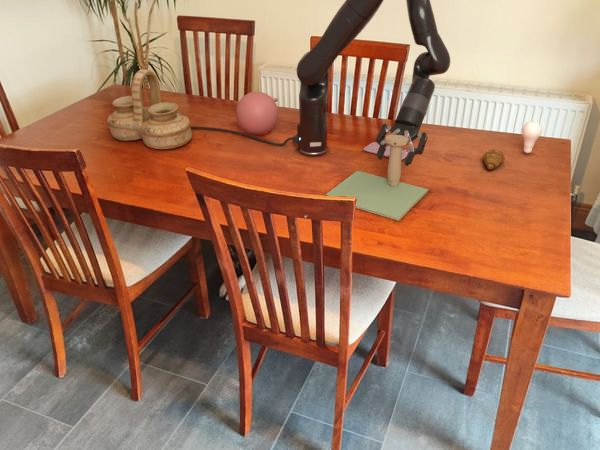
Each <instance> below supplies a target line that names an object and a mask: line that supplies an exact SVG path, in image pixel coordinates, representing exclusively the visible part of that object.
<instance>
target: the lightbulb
mask: <svg viewBox="0 0 600 450" xmlns="http://www.w3.org/2000/svg"><path fill="white" fill-rule="evenodd" d="M542 132H543V128H542V126H541V124H540V123H539V122H537V121H533V120H532V121H531V120H530V121H528V122H526V123H525V124H524V125H523V126H522V128H521V135H522V138H523V152H524V153H525V154H531V153H532V151H533V147H534V146H535V143H536V142H537V140H538V139H539V138H540V136H541V135H542Z"/></svg>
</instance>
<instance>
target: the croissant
mask: <svg viewBox="0 0 600 450" xmlns="http://www.w3.org/2000/svg"><path fill="white" fill-rule="evenodd" d="M482 158H483V160H484V161H483V162H484V165H485V168H486V170H488V171H494V170H495V169H497V168H498V167H499V166H500V165H501V164H502V163H503V162H504V161H505V160H506V158H505V154H504V152H503V151H501V150H499V149H496V148H494V149H488V150H487V151H486V152H485V153H484V154H483V156H482Z"/></svg>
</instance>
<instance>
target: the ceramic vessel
mask: <svg viewBox="0 0 600 450" xmlns="http://www.w3.org/2000/svg"><path fill="white" fill-rule="evenodd" d="M146 78H147V81H148V86H149V96H150V97H149V98H150V105H149V106H145V105H144V98H143V83H144V80H145V79H146ZM130 90H131V95H123V96H120V97H117V98H116V99H114V100H113V101H111V102H112V103H111V104H112V106H113V107H115V108H116V110H114V111H112V113H110V114H109V115H108V116H107V119H106V121H107V122H106V123H108V128H109V131H110V135H111V137H112V138H114V139H116V140H118V141H124V142H128V141H129V142H130V141H136V140H142V142H143V144H144V145H145V146H146V147H148V148H151V149H156V150H169V149H170V150H172V149H176V148H180V147H182V146H185V145H186V144H188V143H189V142H190V141H191V140H192V139H193V132H192V129H191V127H190V126H191V120H190V118H188V116H187V115H184V114H182V112H177V111H179V108H180V107H179V105H178V104H177V103H175V102H171V101H163V102H162V96H161V85H160V81H159V78H158V76H157V75H156V73H155V72H153V70H151V69H147V68H141V69H139V70H137V71H136V73H135V74H134V75H133V78H132V81H131V89H130Z"/></svg>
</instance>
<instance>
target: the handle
mask: <svg viewBox="0 0 600 450" xmlns="http://www.w3.org/2000/svg"><path fill="white" fill-rule="evenodd" d="M384 139H385V142H386V143H387V144H389V146H390V155H389V157H388V163H387V178H388V180H389V181H388V185H390V186H391V187H394V186H398V184H399V182H400V179H401V175H402V167H403V165H402V164H403V163H402V162H403V161H402V149H403V147H405V146H407V145H408V144H407V143H408V137H405V136H402V135H390V134H388V135H387V134H386V136H385V138H384ZM406 144H407V145H406Z"/></svg>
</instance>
